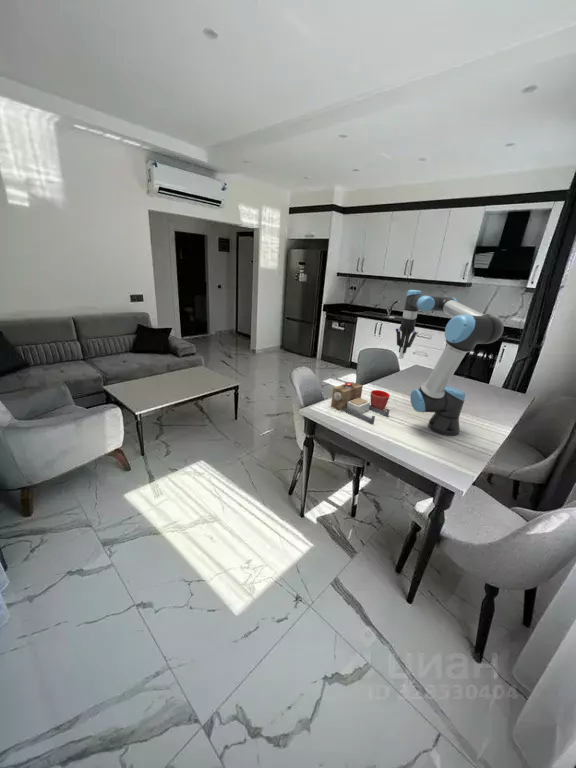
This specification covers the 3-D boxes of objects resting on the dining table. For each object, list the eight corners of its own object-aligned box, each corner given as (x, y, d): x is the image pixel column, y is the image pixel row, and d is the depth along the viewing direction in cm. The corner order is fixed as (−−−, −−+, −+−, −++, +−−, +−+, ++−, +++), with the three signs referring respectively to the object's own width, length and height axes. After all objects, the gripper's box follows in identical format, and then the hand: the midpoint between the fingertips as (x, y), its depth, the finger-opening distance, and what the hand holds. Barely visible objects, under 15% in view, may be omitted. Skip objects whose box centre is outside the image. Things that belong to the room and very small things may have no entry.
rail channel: (388, 416, 177) (389, 409, 176) (372, 424, 167) (373, 417, 165) (358, 404, 191) (359, 397, 189) (342, 410, 180) (343, 403, 178)
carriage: (368, 410, 183) (370, 401, 181) (357, 414, 176) (359, 405, 174) (357, 405, 188) (358, 396, 186) (346, 409, 181) (347, 400, 179)
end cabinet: (359, 404, 191) (362, 385, 187) (341, 411, 179) (344, 392, 175) (349, 399, 197) (351, 381, 192) (330, 406, 184) (332, 387, 180)
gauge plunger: (352, 396, 186) (354, 383, 183) (347, 398, 183) (349, 385, 180) (346, 394, 189) (348, 381, 186) (341, 395, 186) (343, 383, 183)
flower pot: (382, 414, 180) (386, 398, 177) (365, 408, 186) (367, 393, 183) (389, 408, 188) (392, 393, 185) (372, 403, 194) (375, 388, 191)
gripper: (423, 319, 176) (414, 360, 184) (401, 316, 185) (394, 354, 193) (417, 320, 171) (408, 361, 179) (395, 316, 180) (387, 356, 188)
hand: (401, 358), depth 186 cm, fingers closed
